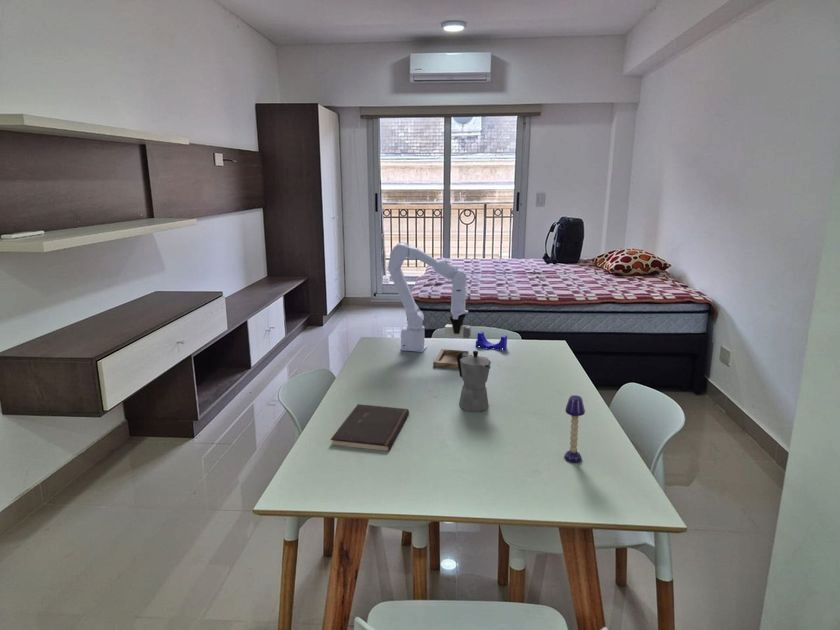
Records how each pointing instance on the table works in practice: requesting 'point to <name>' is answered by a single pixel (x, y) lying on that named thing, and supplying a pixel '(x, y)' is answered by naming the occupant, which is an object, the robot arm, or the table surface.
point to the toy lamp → (574, 426)
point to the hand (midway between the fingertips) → (457, 332)
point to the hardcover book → (371, 427)
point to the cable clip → (484, 343)
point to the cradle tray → (447, 359)
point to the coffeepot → (473, 381)
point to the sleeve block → (464, 331)
